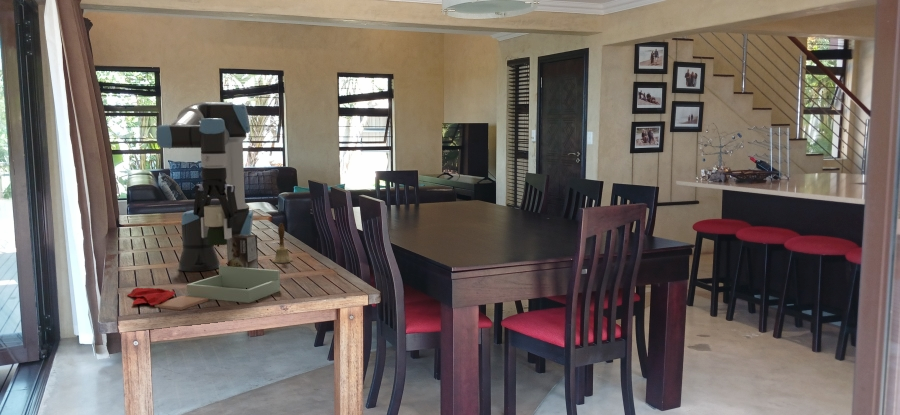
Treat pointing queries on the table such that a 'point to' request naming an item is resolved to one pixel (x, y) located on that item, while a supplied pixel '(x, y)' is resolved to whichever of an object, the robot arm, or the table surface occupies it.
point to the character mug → (215, 225)
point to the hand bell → (281, 248)
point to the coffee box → (242, 251)
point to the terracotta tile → (181, 302)
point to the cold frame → (237, 284)
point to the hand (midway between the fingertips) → (216, 237)
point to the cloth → (150, 295)
